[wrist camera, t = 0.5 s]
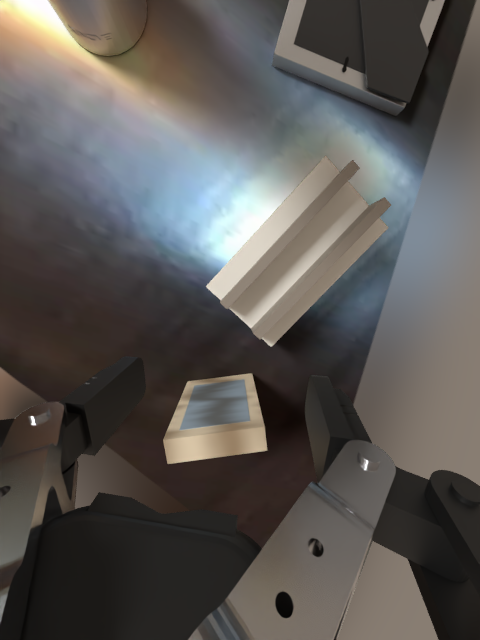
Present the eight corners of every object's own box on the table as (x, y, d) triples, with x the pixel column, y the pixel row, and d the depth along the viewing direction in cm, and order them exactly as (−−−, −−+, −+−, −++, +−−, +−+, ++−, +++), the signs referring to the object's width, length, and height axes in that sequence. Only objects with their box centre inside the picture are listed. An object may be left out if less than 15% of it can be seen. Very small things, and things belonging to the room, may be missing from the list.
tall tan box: (190, 397, 33) (167, 464, 21) (187, 381, 32) (163, 439, 20) (253, 389, 33) (267, 451, 21) (252, 373, 32) (264, 426, 21)
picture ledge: (264, 336, 32) (275, 353, 24) (209, 285, 30) (203, 287, 23) (362, 236, 30) (405, 222, 23) (309, 177, 28) (336, 140, 21)
